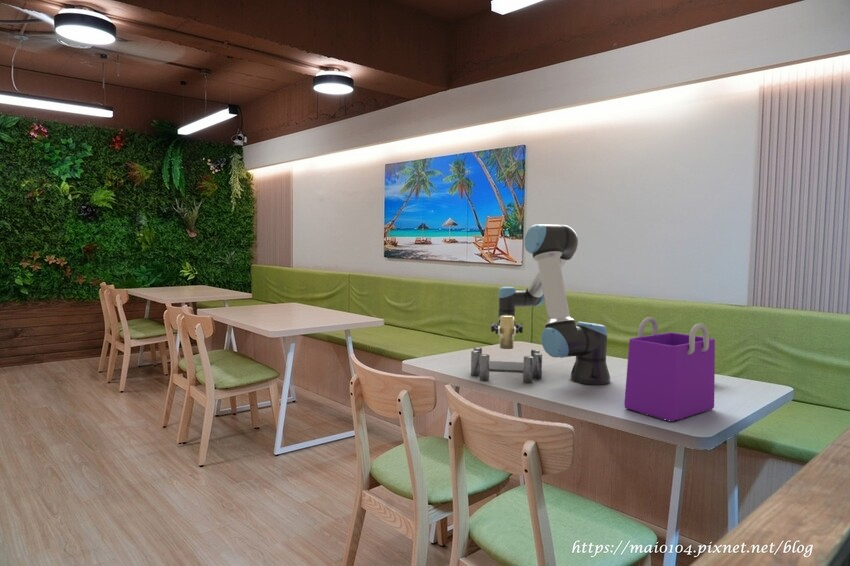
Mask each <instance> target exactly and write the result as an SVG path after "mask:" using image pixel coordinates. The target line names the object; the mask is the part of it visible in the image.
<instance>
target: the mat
mask: <svg viewBox="0 0 850 566" xmlns="http://www.w3.org/2000/svg"><path fill="white" fill-rule="evenodd" d="M523 366H524V361H523V362H522V361H521V362H520V361H503V360H502V361H500V360H499V361H498V360H497V361H496V360H489V372H505V371H513V372H512V373H523Z"/></svg>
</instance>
